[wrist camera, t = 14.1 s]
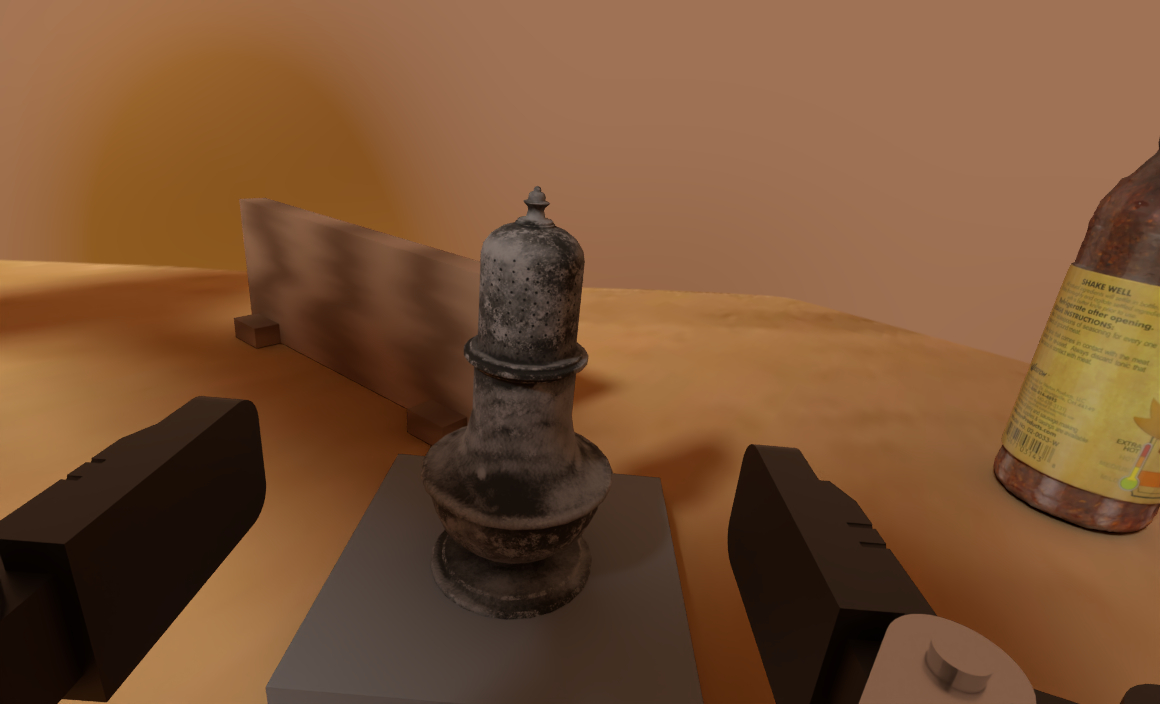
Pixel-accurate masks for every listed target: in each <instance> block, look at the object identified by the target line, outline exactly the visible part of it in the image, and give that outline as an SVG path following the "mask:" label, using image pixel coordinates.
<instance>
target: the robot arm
mask: <svg viewBox="0 0 1160 704" xmlns="http://www.w3.org/2000/svg"><path fill="white" fill-rule="evenodd" d="M265 494H266V479H265V470H264V461H263V453H262V444H261V435H260V427H259V418H258V412H257V409H256V407H255V405H254V404H253V403H252V402H251V401H249V400H241V399H230V398H218V397H206V396H198V397H195V398H194V399H192V400H190V401H189V402H188V403H186V404H185V405H183V406H182V407H181V408H179V409H178V410H176V411H175V412H173V413H172V414H171V415H169V416H168V417H166V418H165V419H164V420H162V421H161V422H159V423H158V424H155V425H153V426H150V427H148V428H145V429H143V430H141V431H138V432H136V433H133V434H131V435H128V436H126V437H123V438H121V439H119V440H118V441H116V442H115V443H113V444H112V445H110V446H109V447H108V448H106V449H105V450H103V451H102V452H100V453H99V454H97V455H96V456H94V457H93V458H92V461H91V463H88V462H86V463H84V464H83V465H81V466H80V467H78V468H77V469H75V470H74V471H72V472H71V473H69V474H68V475H67V479H66V480H62V479H61V480H59V481H58V482H56V483H55V484H53V485H52V486H50V487H49V488H47V489H46V490H44V491H43V492H42V493H40V494H39V495H37V496H36V497H34V498H33V499H31V500H30V501H28V502H27V503H25V504H24V505H22V506H21V507H20V508H18V509H17V510H15V511H14V512H12V513H11V514H9V515H8V516H6V517H5V518H3V519H2V520H0V704H58V702H59V701H60V700H61V699H68V700H82V701H96V702H107V701H108V700H109V699H110V698H111V697H112V695H113V694H114V693H115V692H116V691H117V689H118V688H119V687H120V686H121V685H122V683H123V682H124V681H125V680H126V678H127V677H128V676H129V675H130V674H131V672H132V671H133V670H134V669H135V668H136V666H137V665H138V664H139V663H140V661H141V660H142V659H143V658H144V657H145V655H146V654H147V653H148V652H149V651H150V649H151V648H152V647H153V646H154V644H155V643H156V642H157V641H158V640H159V638H160V637H161V636H162V635H163V634H164V632H165V631H166V630H167V629H168V628H169V626H170V625H171V624H172V623H173V621H174V620H175V619H176V618H177V617H178V615H179V614H180V613H181V612H182V611H183V609H184V608H185V607H186V606H187V604H188V603H189V602H190V601H191V600H192V598H193V597H194V596H195V595H196V594H197V592H198V591H199V590H200V589H201V588H202V586H203V585H204V584H205V583H206V581H207V580H208V579H209V578H210V577H211V575H212V574H213V573H214V572H215V571H216V569H217V568H218V567H219V566H220V564H221V563H222V562H223V561H224V560H225V558H226V557H227V556H228V555H229V554H230V552H231V551H232V550H233V549H234V547H235V546H236V545H237V544H238V543H239V541H240V540H241V539H242V538H243V537H244V535H245V534H246V533H247V532H248V531H249V529H250V528H251V527H252V526H253V524H254V523H255V522H256V520H257V518H258V517H259V515H260V512H261V510H262V507H263V504H264V500H265ZM728 553H729V559H730V563H731V567H732V570H733V573H734V576H735V579H736V582H737V585H738V588H739V591H740V594H741V597H742V600H743V603H744V606H745V609H746V613H747V616H748V619H749V622H750V625H751V628H752V631H753V634H754V637H755V640H756V643H757V646H758V649H759V652H760V656H761V659H762V662H763V665H764V668H765V671H766V674H767V677H768V680H769V683H770V686H771V689H772V692H773V695H774V698H775V702H776V704H1078V703H1075V702H1072V701H1069V700H1066V699H1063V698H1060V697H1056V696H1053V695H1050V694H1047V693H1044V692H1041V691H1038V690H1035V689H1033V687H1032V685H1031V683H1030V681H1029V680H1028V678H1027V676H1026V675H1025V674H1024V672H1023V671H1022V670H1021V668H1020V667H1019V666H1018V665H1017V664H1016V663H1015V662H1014V660H1013V659H1012V658H1011V657H1010V656H1009V655H1007V654H1006V653H1005V652H1004V651H1003V650H1002V649H1001V648H999V647H998V646H997V645H995V644H994V643H993V642H991V641H990V640H988V639H987V638H985V637H984V636H982V635H980V634H979V633H977V632H975V631H973V630H971V629H969V628H968V627H966V626H963V625H961V624H959V623H956V622H954V621H951V620H948V619H945V618H942V617H938V616H937V615H936V614H935V612H934V611H933V609H932V608H931V606H930V605H929V604H928V602H927V601H926V599H925V598H924V597H923V595H922V594H921V592H920V591H919V590H918V588H917V587H916V585H915V584H914V583H913V581H912V580H911V578H910V577H909V575H908V574H907V573H906V571H905V570H904V568H903V567H902V566H901V564H900V563H899V561H898V560H897V559H896V557H895V556H894V554H893V553H892V551H891V550H890V549H886V543H885V542H884V540H883V539H882V537H881V536H880V535H879V533H878V532H877V530H876V529H872V523H871V522H870V520H869V519H868V518H867V516H866V515H865V513H864V512H863V511H862V509H861V508H860V506H859V505H858V504H857V502H856V501H855V500H853V499H852V498H851V497H850V496H848V495H847V494H846V493H844V492H843V491H842V490H840V489H839V488H838V487H837V486H835V485H834V484H833V483H831V482H830V481H821V480H819V479H818V478H817V476H816V475H815V473H814V472H813V470H812V469H811V467H810V465H809V464H808V462H807V461H806V459H805V458H804V456H803V455H802V453H801V452H800V450H798V449H797V448H789V447H778V446H766V445H754V444H751V445H749V446H748V448H747V449H746V451H745V454H744V457H743V461H742V466H741V471H740V475H739V480H738V484H737V489H736V493H735V498H734V503H733V507H732V512H731V516H730V521H729V527H728ZM1120 704H1160V685H1155V684H1143V685H1137V686H1134V687H1132V688H1130V689H1129V690H1128V691H1127V692H1126V694H1125V695H1124V697H1123V699H1122V701H1121V702H1120Z"/></svg>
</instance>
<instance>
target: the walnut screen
mask: <svg viewBox="0 0 1160 704" xmlns="http://www.w3.org/2000/svg"><path fill="white" fill-rule="evenodd" d="M240 208H241V217H242V227H243V235H244V236H243V237H244V246H245V255H246V264H247V273H248V282H249V291H250V301H251V310H252V315H248V316H242V317H237V318H234V324H235V332H236V337H237V338H239V339H241V340H243V341H244V342H246V343H248V344H250V345H252V346H253V347H255V348H260V347H264V346H268V345H272V344H277V343H283V344H284V345H286V346H288V347H290V348H292V349H294V350H296V351H298V352H300V353H302V354H304V355H305V356H307V357H309V358H311V359H313V360H315V361H317V362H319V363H321V364H323V365H325V366H326V367H328V368H330V369H332V370H334V371H336V372H338V373H340V374H342V375H344V376H346V377H347V378H349V379H351V380H353V381H355V382H357V383H359V384H361V385H363V386H365V387H366V388H368V389H370V390H372V391H374V392H376V393H378V394H380V395H382V396H384V397H386V398H387V399H389V400H391V401H393V402H395V403H397V404H399V405H401V406H403V407H405V408H407V432H408V433H410V434H412V435H414V436H415V437H417V438H419V439H421V440H423V441H424V442H426V443H428V444H430V445H432V446H433V445H434V444H435V443H437V442H438V441H439V440H440V439H442V438H443V437H444V436H445V435H447V434H449V433H451V432H454V431H456V430H458V429H460V428H462V427H466V426H468V423H469V419H470V416H471V412H472V408H473V381H474V366H473V365H472V364H470V363H469V362H468V361H467V359H466V358H465V356H464V345H465V344H466V343H467V341H468V340H469V339H471V338H472V337H474V336H476V335H478V316H479V288H480V261H476V260H473V259H470V258H466V257H463V256H459V255H456V254H453V253H449V252H445V251H443V250H439V249H435V248H432V247H429V246H426V245H422V244H419V243H415V242H412V241H409V240H405V239H402V238H399V237H395V236H392V235H388V234H385V233H382V232H378V231H374V230H371V229H368V228H365V227H361V226H358V225H355V224H351V223H348V222H344V221H341V220H338V219H334V218H331V217H328V216H324V215H321V214H317V213H314V212H310V211H307V210H304V209H301V208H297V207H294V206H290V205H287V204H284V203H280V202H277V201H274V200H270V199H267V198H255V199H240Z"/></svg>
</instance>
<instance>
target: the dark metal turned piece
mask: <svg viewBox="0 0 1160 704" xmlns="http://www.w3.org/2000/svg"><path fill="white" fill-rule="evenodd" d="M545 199H546V197H545V194H544V193H543V192H541V188H540V187H539V186H536V187H535V188H534V191H532V192H530V193H529V197H528V199H527V200H524V202H525V204H526V205H527V206H528V212H527V215H526V216H523V217H519V218H518V220H516V221H515V222H514V223H509V224H505V225H503V226H501V227H499V228H498V229H496V230H494V231H493V232H491V234H490V235H489V236H488V237H487V238H486V240H485V241H484V242H483V246H482V250H481V260H480V288H479V316H478V335H476V336H474V337H472V338H471V339H469V340H468V341H467V343H466V344H465V345H464V356H465V358H466V359H467V361H468V362H469V363H470V364H472V365H473V366H474V381H473V408H472V412H471V416H470V419H469V423H468V426H466V427H462V428H460V429H458V430H456V431H454V432H451V433H449V434H447V435H445V436H444V437H443V438H442V439H440V440H439V441H438V442H437V443H435V444H434V445H433V446H432V447H431V448H430V449H429V451H428V452H427V454H426V456H425V457H424V459H423V462H422V469H421V479H422V481H423V484H424V487H425V490H426V492H427V493H428V494H429V495H430V496H431V497H432V501H433V504H434V507H435V510H436V513H437V515H438V517H439V519H440V521H441V523H442V524H443V526H444V528H445V530H444V531H443V532H442V533H441V534H440V535H439V536H438V538H437V541H436V543H435V545H434V547H433V549H432V554H431V571H432V574H433V577H434V581H435V583H436V584H437V586H438V587H439V588H440V590H441V591H442V592H443V594H444V595H445V596H446V597H447V598H448V599H450V600H451V601H453V602H454V603H456V604H457V605H458V606H460V607H461V608H463V609H466V610H468V611H471V612H473V613H476V614H479V615H481V616H485V617H492V618H499V619H505V620H508V619H526V618H533V617H536V616H540V615H544V614H547V613H551V612H553V611H555V610H557V609H559V608H560V607H562V606H564V605H566V604H568V603H570V602H571V601H572V600H573V599H574V598H575V597H576V596H577V595H578V594H579V593H580V592H581V591H582V590H583V588H584V586H585V584H586V582H587V580H588V578H589V577H590V570H591V562H592V557H591V553H590V549H589V546H588V544H587V542H586V541H585V539H584V538H583V536H582V534H583V532H584V531H585V529H586V528H587V526H588V524H589V523H590V521H591V520H592V518H593V516H594V515H595V513H596V511H597V510H598V505H600V504H601V503H602V502H603V501H604V499H605V498H606V496H607V494H608V493H609V491H610V489H611V484H612V469H611V467H610V464H609V461H608V459H607V457H606V456H605V455H604V454H603V453H602V452H601V451H600V449H599V448H598V447H597V446H596V445H595V444H593V443H592V442H590V441H589V440H588V439H586V438H585V437H583V436H582V435H579V434H577V433H575V432H574V429H573V422H572V408H573V398H574V388H575V378H576V373H578V372H580V371H581V370H582V369H583V368H584V367H585V366H586V365H587V362H588V354H587V352H586V350H585V349H584V348H583V347H582V346H581V345H580V344H578V343H577V332H578V322H579V312H580V303H581V293H582V283H583V273H584V263H585V261H584V253H583V250H582V248H581V246H580V245H579V243H578V241H577V240H576V239H575V238H574V237H573V236H572V235H570V234H569V233H568V232H567V231H565V230H563V229H561V228H559V227H556V226H555V224H554V223H553V221H552V220H551V219H548V218H545V214H544V209H545V208H546V207H547V206H548V205H549V204H550V203H549V202H547V201H545Z"/></svg>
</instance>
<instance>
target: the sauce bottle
mask: <svg viewBox="0 0 1160 704" xmlns="http://www.w3.org/2000/svg"><path fill="white" fill-rule="evenodd" d="M1002 444H1003V445H1002V447H1001V449H1000V450H999V453H998V455H997V456H996V458H995V462H994V470H995V473H996V476H997V478H998V479H999V480H1000V482H1001V483H1002V484H1003V485H1004V486H1005V487H1006V489H1007V490H1009V491H1010V492H1012V493H1013V494H1014V495H1015V496H1016V497H1018V498H1020V499H1022V500H1023V501H1025V502H1026V503H1028V504H1029V505H1031V506H1033V507H1035V508H1037V509H1039V510H1041V511H1044V512H1046V513H1048V514H1051V515H1053V516H1056V517H1059V518H1061V519H1064V520H1066V521H1069V522H1071V523H1074V524H1076V525H1079V526H1082V527H1085V528H1088V529H1097V530H1106V531H1109V532H1111V531H1113V532H1134V531H1138V530H1140V529H1143V528H1145V527H1146V526H1148V525H1149V524H1150V523H1151V522H1152V519H1153V517H1154V516H1155V515H1156V514H1157V512H1158V509H1159V507H1160V139H1159V150H1158V152H1157V153H1156V154H1155V155H1154V156H1152V157H1151V158H1150V159H1149V160H1148V161H1146V162H1145V163H1144V164H1143V165H1142V166H1140V167H1139V168H1138V169H1137V170H1136V171H1135V172H1134V173H1132V174H1131V175H1130V176H1128V177H1125V178H1122V179H1121V180H1120V181H1119V183H1118V184H1117V185H1116V186H1115V187H1114V188H1113V189H1112V190H1111V191H1110V192H1109V193H1108V194H1107V195H1106V196H1105V197H1104V198H1103V199H1102V200H1101V201H1100V204H1099V205H1098V207H1097V209H1096V211H1095V212H1094V215H1093V217H1092V218H1091V220H1090V222H1089V226H1088V230H1087V233H1086V236H1085V238H1084V241H1083V242H1082V245H1081V247H1080V250H1079V252H1078V255H1077V258H1076V260H1075V262H1074V263H1072V264H1071V265H1070V267H1069V269H1068V271H1067V274H1066V276H1065V279H1064V281H1063V284H1062V286H1061V288H1060V291H1059V294H1058V296H1057V299H1056V301H1055V304H1054V306H1053V309H1052V311H1051V314H1050V316H1049V319H1048V321H1047V324H1046V327H1045V329H1044V331H1043V334H1042V336H1041V339H1040V341H1039V344H1038V347H1037V349H1036V352H1035V354H1034V357H1033V359H1032V362H1031V364H1030V367H1029V369H1028V372H1027V374H1026V377H1025V379H1024V382H1023V384H1022V387H1021V389H1020V392H1019V395H1018V397H1017V400H1016V402H1015V405H1014V407H1013V410H1012V412H1011V415H1010V418H1009V420H1008V423H1007V425H1006V428H1005V430H1004V432H1003V435H1002Z"/></svg>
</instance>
